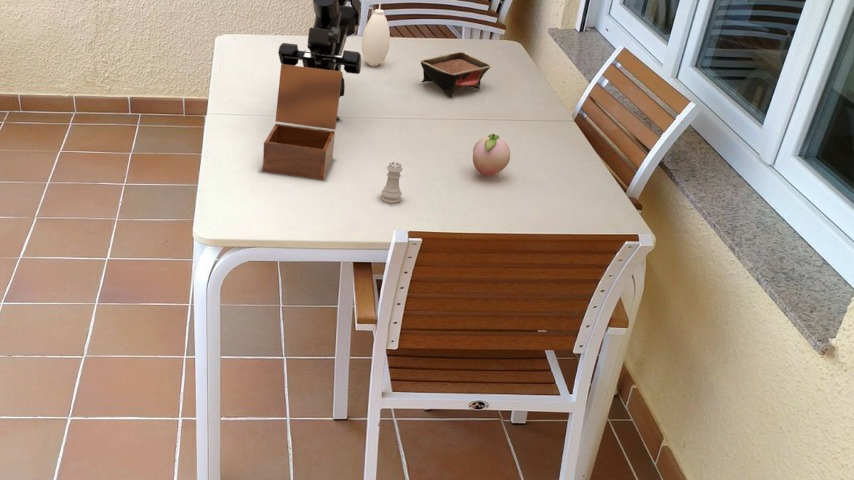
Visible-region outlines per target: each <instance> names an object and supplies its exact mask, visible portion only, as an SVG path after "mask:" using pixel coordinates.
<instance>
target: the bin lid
mask: <svg viewBox="0 0 854 480" xmlns="http://www.w3.org/2000/svg"><path fill="white" fill-rule="evenodd" d="M342 73H343V71H342V70H341V71H333V70H325V69H317V68H309V67H303V66H300V65H295V66H293V65H284V64H281V63H280V73H279V80H278V81H279V82H278V91H277V103H276V111H275V122H276V123H281V124H282V123H283V124H290V125H291V124H292V125H298V126H305V127H311V128H312V127H313V128H319V129H326V130H327V129H328V130H336V126H337V121H338V120H337V117H338V112H339V111H338V110H339V104H340V103H339V102H340V98H339V96H340V87H341V79H342ZM340 97H341V96H340ZM336 120H337V121H336Z"/></svg>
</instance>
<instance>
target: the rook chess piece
mask: <svg viewBox="0 0 854 480" xmlns="http://www.w3.org/2000/svg"><path fill="white" fill-rule="evenodd" d="M386 170H387V171H388V173H386V176H387V179H386V184H385V186H384V187H383V189H382V190H381V195H380V199H381V200H382V202H384V203H385V204H386V203H387V204H392V205H393V204H398V203H400V202H401V201H402V194H403V193H402V191H401V188H400V178H401V172H402V171H403V167H402V163H400V162H398V161H396V162H395V161H391V162H389V164H388V165H387V167H386Z"/></svg>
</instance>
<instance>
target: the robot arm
mask: <svg viewBox="0 0 854 480" xmlns="http://www.w3.org/2000/svg"><path fill="white" fill-rule="evenodd" d="M348 2H349V4H350V5H347V4H348ZM312 6H313V11H314V15H315V18H314V24H313V27H309V29H308V34H307V35H308V36H307V49H308V50H307V49H304V50H299V46H298V44H295V43H288V42H282V43H281V44H280V45H279V46H278V47H279V48H278V58H279V62H280V65H281V64H284V65H293V66H297V65H298V64H299V61H302V67H309V68H317V69H325V70H333V71H341V72H342V66H343V71H344V72H345V73H346V74H354V75H359V74H360V72H361V69H362V54H361V53H360V52H359V51H354V50H344V48H345V45H346V42H347V39H348V37H351V36H353V35H354V34H356V31H357V29H358V27H360V25H361V21H362V2H361V0H312ZM343 74H344V73H343V72H342V79H341V87H340V96H339V99H340V98H341V97H344V96H345V89H346V87H345V85H346V84H345V78H344V75H343ZM337 121H340V117H339V116H337V120H336V122H337Z"/></svg>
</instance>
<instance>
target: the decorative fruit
mask: <svg viewBox="0 0 854 480" xmlns="http://www.w3.org/2000/svg"><path fill="white" fill-rule="evenodd" d="M510 160H511V149H510V147H509V145H508V143H507V142H506V141H505V140H503V139H502V138H500V136H499V135H498V134H495V133H491V134H488V135H487V136H483V137H481V138H479V139H478V140H477V141H476V142H475V143H474V145H473V148H472V163H473V166H474V168H475V169H476V171H477V172H478V173H479V174H481V175H482V176H483V177H490V176H493V175H497V174H498V173H500V172H502V171H503V170H504V169H506V168H507V167H508V164H509V163H510Z"/></svg>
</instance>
